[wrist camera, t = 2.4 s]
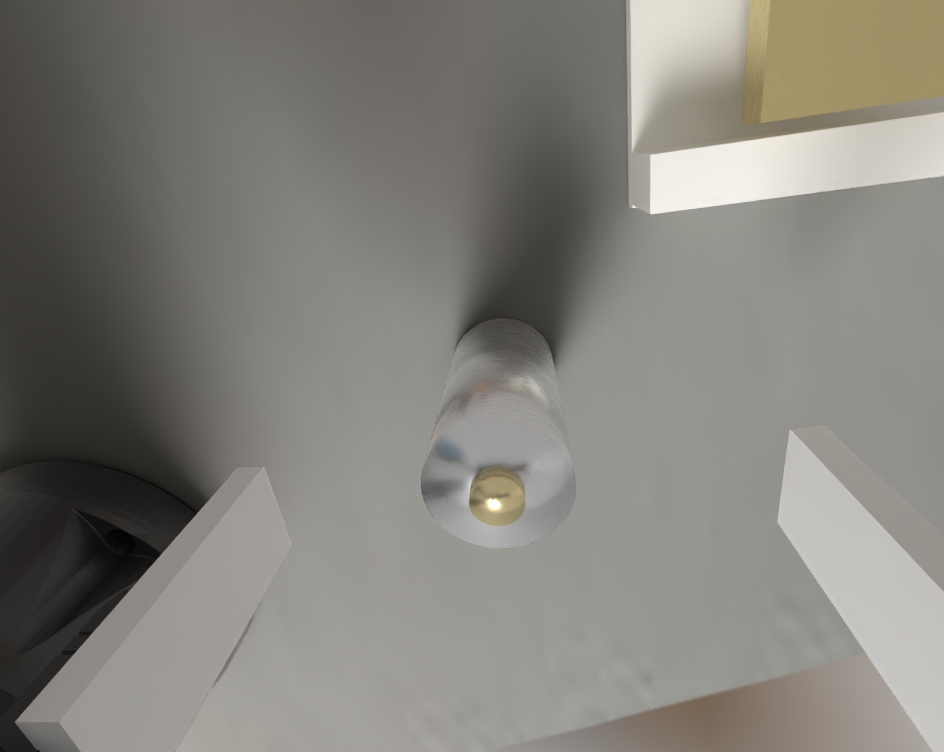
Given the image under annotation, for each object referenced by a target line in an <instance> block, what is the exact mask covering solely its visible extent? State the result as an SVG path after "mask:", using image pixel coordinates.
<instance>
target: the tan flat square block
mask: <svg viewBox="0 0 944 752" xmlns="http://www.w3.org/2000/svg"><path fill="white" fill-rule="evenodd" d="M941 96H944V0H750V6H749V20H748V35H747V49H746V64H745V78H744V92H743V107H742V121H741V125H746V124H759V123H766V122H773V121H780V120H786V119H793V118H800V117H806V116H813V115H820V114H827V113H833V112H840V111H847V110H853V109H860V108H867V107H874V106H880V105H887V104H894V103H900V102H907V101H914V100H921V99H927V98H934V97H941Z"/></svg>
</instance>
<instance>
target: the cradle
mask: <svg viewBox="0 0 944 752" xmlns="http://www.w3.org/2000/svg"><path fill="white" fill-rule="evenodd" d="M749 6H750V0H626V35H627V114H628V193H629V207H631V208H639V209H641V210H643V211H645V212H647V213H649V214H656V213H664V212H672V211H679V210H687V209H694V208H702V207H710V206H717V205H725V204H732V203H740V202H748V201H755V200H763V199H770V198H778V197H786V196H793V195H801V194H808V193H816V192H824V191H831V190H839V189H846V188H854V187H862V186H869V185H877V184H884V183H892V182H900V181H907V180H915V179H923V178H930V177H938V176H944V96H941V97H934V98H927V99H921V100H914V101H907V102H900V103H894V104H887V105H880V106H874V107H867V108H860V109H853V110H847V111H840V112H833V113H827V114H820V115H813V116H806V117H800V118H793V119H786V120H780V121H773V122H766V123H759V124H746V125H741V121H742V107H743V92H744V78H745V64H746V49H747V35H748V20H749Z"/></svg>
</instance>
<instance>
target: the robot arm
mask: <svg viewBox="0 0 944 752" xmlns="http://www.w3.org/2000/svg"><path fill="white" fill-rule="evenodd" d="M777 522H778V524H779V525H780V527H781V528H782V530H783V531H784V533H785V534H786V536H787V537H788V539H789V540H790V542H791V543H792V545H793V546H794V548H795V549H796V550H797V552H798V553H799V555H800V556H801V558H802V559H803V561H804V562H805V564H806V565H807V567H808V568H809V570H810V571H811V573H812V574H813V576H814V577H815V579H816V580H817V582H818V583H819V584H820V586H821V587H822V589H823V590H824V592H825V593H826V595H827V596H828V598H829V599H830V601H831V602H832V604H833V605H834V607H835V608H836V610H837V611H838V613H839V614H840V615H841V617H842V618H843V620H844V621H845V623H846V624H847V626H848V627H849V629H850V630H851V632H852V633H853V635H854V636H855V638H856V639H857V641H858V642H859V644H860V645H861V647H862V648H863V649H864V651H865V652H866V654H867V655H868V657H869V658H870V660H871V661H872V663H873V664H874V666H875V667H876V669H877V670H878V671H879V673H880V674H881V676H882V677H883V679H884V680H885V682H886V683H887V685H888V686H889V688H890V689H891V691H892V692H893V694H894V695H895V697H896V698H897V700H898V701H899V703H900V704H901V706H902V707H903V709H904V710H905V712H906V713H907V714H908V716H909V717H910V719H911V720H912V722H913V723H914V725H915V726H916V728H917V729H918V731H919V732H920V734H921V735H922V736H923V738H924V739H925V741H926V743H927V744H928V745H929V747H930V748H931V750H932V751H933V752H944V536H943V535H942V534H941V533H940V532H939V531H938V530H937V529H936V528H935V527H934V526H933V525H932V524H930V523H929V522H928V521H927V520H926V519H925V518H924V517H923V516H922V515H921V514H920V513H919V512H918V511H916V510H915V509H914V508H913V507H912V506H911V505H910V504H909V503H908V502H907V501H906V500H905V499H904V498H902V497H901V496H900V495H899V494H898V493H897V492H896V491H895V490H894V489H893V488H892V487H891V486H890V485H888V484H887V483H886V482H885V481H884V480H883V479H882V478H881V477H880V476H879V475H878V474H877V473H876V472H874V471H873V470H872V469H871V468H870V467H869V466H868V465H867V464H866V463H865V462H864V461H863V460H862V459H860V458H859V457H858V456H857V455H856V454H855V453H854V452H853V451H852V450H851V449H850V448H849V447H848V446H846V445H845V444H844V443H843V442H842V441H841V440H840V439H839V438H838V437H837V436H836V435H835V434H833V433H832V432H831V431H830V430H829V429H828V428H827V427H826V426H819V427H805V428H791V429H790V431H789V438H788V446H787V453H786V461H785V468H784V476H783V484H782V491H781V499H780V506H779V514H778V521H777ZM292 546H293V544H292V542H291V539H290V536H289V533H288V531H287V528H286V525H285V522H284V520H283V517H282V514H281V511H280V509H279V506H278V503H277V500H276V498H275V495H274V492H273V489H272V487H271V484H270V481H269V478H268V476H267V473H266V470H265V467H264V466H252V467H238V468H237V469H236V470H235V471H234V472H233V473H232V474H231V475H230V477H229V478H228V479H227V480H226V481H225V482H224V483H223V485H222V486H221V487H220V488H219V489H218V490H217V491H216V493H215V494H214V495H213V496H212V497H211V498H210V499H209V501H208V502H207V503H206V504H205V505H204V506H203V507H202V509H201V510H200V511H199V512H198V513H197V514H196V513H195V512H193V511H192V510H191V509H190V508H188V507H187V506H186V505H184V504H183V503H181V502H180V501H178V500H177V499H175V498H174V497H172V496H171V495H169V494H167V493H165V492H164V491H162V490H160V489H158V488H156V487H154V486H152V485H150V484H148V483H146V482H144V481H142V480H140V479H137V478H135V477H132V476H130V475H127V474H124V473H121V472H118V471H115V470H112V469H108V468H104V467H101V466H96V465H91V464H85V463H79V462H68V461H43V462H35V463H29V464H24V465H20V466H17V467H14V468H11V469H9V470H6V471H4V472H2V473H0V752H175V751H176V750H177V748H178V746H179V744H180V743H181V741H182V739H183V737H184V736H185V734H186V732H187V730H188V729H189V727H190V725H191V723H192V721H193V720H194V718H195V716H196V714H197V713H198V711H199V709H200V707H201V706H202V704H203V702H204V700H205V699H206V697H207V695H208V693H209V692H210V690H211V688H212V687H213V686H214V685H215V684H216V683H217V682H218V681H219V679H220V678H221V677H222V675H223V674H224V672H225V671H226V669H227V668H228V666H229V664H230V662H231V660H232V659H233V657H234V655H235V653H236V651H237V649H238V648H239V646H240V644H241V642H242V640H243V638H244V636H245V635H246V633H247V630H248V627H249V624H250V620H251V618H252V616H253V614H254V612H255V611H256V609H257V607H258V605H259V604H260V602H261V600H262V598H263V597H264V595H265V593H266V591H267V590H268V588H269V586H270V584H271V582H272V581H273V579H274V577H275V575H276V574H277V572H278V570H279V568H280V567H281V565H282V563H283V561H284V560H285V558H286V556H287V554H288V553H289V551H290V549H291V547H292Z"/></svg>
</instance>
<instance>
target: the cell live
mask: <svg viewBox="0 0 944 752" xmlns="http://www.w3.org/2000/svg"><path fill="white" fill-rule="evenodd" d="M421 490H422V495H423V499H424V502H425V504H426V506H427V508H428V510H429V512H430V513H431V515H432V516H433V518H434V519H435V520H436V521H437V522H438V524H440V525H441V526H442V527H443V528H444V529H445V530H446V531H448V532H449V533H451V534H452V535H454V536H456V537H457V538H459V539H461V540H464V541H466V542H468V543H471V544H475V545H478V546H483V547H489V548H513V547H519V546H524V545H527V544H530V543H533V542H536V541H538V540H540V539H542V538H544V537H545V536H547V535H549V534H550V533H552V532H553V531H554V530H555V529H557V528H558V527H559V526H560V525H561V524H562V523H563V521H564V520H565V519H566V517H567V516H568V514H569V512H570V510H571V508H572V506H573V503H574V500H575V495H576V479H575V473H574V468H573V463H572V457H571V452H570V447H569V442H568V436H567V431H566V426H565V421H564V416H563V410H562V405H561V400H560V395H559V389H558V384H557V379H556V374H555V368H554V363H553V358H552V353H551V350H550V348H549V345H548V343H547V342H546V340H545V339H544V337H543V336H542V335H541V334H540V333H539V332H538V331H537V330H536V329H535V328H533V327H532V326H530V325H528V324H526V323H524V322H522V321H519V320H515V319H509V318H496V319H490V320H487V321H484V322H481V323H479V324H477V325H476V326H474V327H472V328H471V329H470V330H469V331H467V332H466V334H465V335H464V336H463V337H462V338H461V340H460V341H459V343H458V345H457V347H456V350H455V353H454V356H453V360H452V364H451V367H450V371H449V375H448V378H447V382H446V386H445V389H444V393H443V397H442V400H441V404H440V408H439V411H438V415H437V419H436V422H435V426H434V430H433V433H432V437H431V441H430V444H429V448H428V452H427V455H426V459H425V463H424V466H423V470H422V476H421Z"/></svg>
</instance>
